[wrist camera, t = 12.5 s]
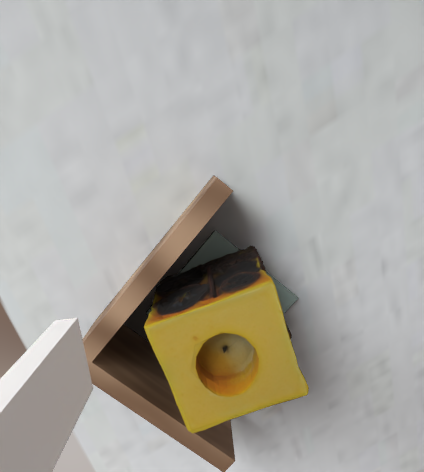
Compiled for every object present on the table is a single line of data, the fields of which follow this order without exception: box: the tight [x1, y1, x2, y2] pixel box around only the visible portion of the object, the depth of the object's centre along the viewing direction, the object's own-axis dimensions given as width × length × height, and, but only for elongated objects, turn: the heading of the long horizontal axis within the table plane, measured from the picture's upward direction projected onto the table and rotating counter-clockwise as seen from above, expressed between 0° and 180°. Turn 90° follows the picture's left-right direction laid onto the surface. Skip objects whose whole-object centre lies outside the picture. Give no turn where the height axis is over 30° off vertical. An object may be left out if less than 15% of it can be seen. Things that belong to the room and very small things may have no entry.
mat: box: [146, 231, 298, 315], centre depth 35 cm, size 11×11×1 cm
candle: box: [144, 246, 309, 433], centre depth 30 cm, size 10×10×10 cm
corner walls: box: [82, 175, 235, 472], centre depth 31 cm, size 19×16×8 cm
